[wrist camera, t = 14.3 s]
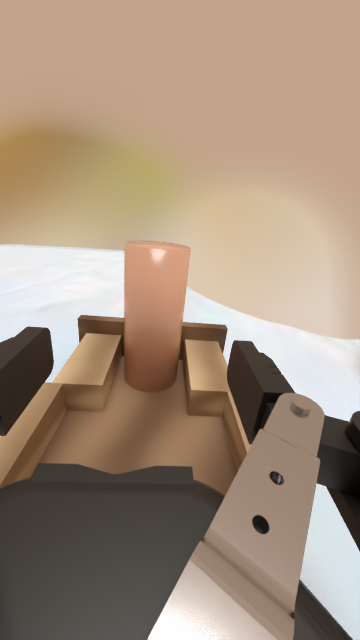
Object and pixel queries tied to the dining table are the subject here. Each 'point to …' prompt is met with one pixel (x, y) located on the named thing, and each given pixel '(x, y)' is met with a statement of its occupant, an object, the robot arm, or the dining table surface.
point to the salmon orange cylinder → (153, 312)
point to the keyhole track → (132, 412)
